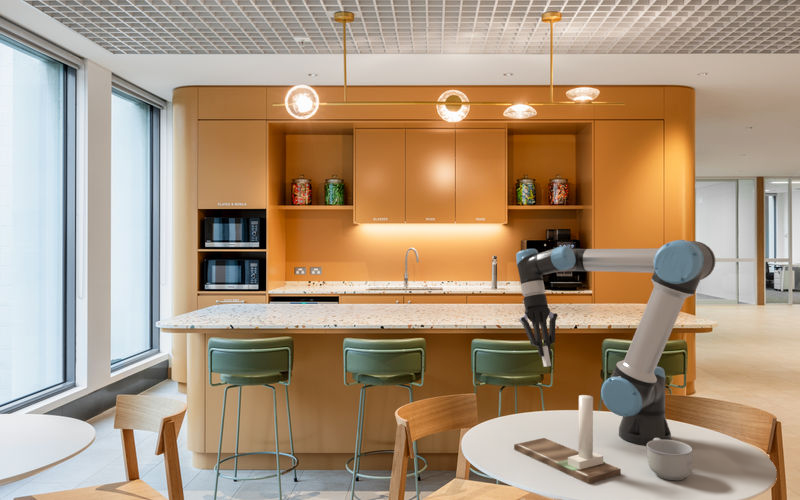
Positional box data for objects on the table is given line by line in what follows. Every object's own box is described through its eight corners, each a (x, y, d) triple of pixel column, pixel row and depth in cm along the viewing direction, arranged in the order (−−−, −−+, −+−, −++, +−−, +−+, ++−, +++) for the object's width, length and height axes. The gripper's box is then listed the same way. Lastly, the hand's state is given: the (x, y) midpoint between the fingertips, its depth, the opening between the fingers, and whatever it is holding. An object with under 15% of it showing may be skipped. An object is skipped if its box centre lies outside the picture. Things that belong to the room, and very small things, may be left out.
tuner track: (514, 449, 165) (514, 443, 165) (544, 442, 171) (544, 437, 171) (588, 483, 141) (588, 477, 141) (620, 474, 147) (620, 468, 147)
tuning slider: (567, 464, 149) (568, 397, 149) (591, 458, 153) (591, 393, 153) (579, 469, 145) (579, 400, 145) (603, 463, 150) (603, 396, 150)
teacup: (698, 486, 140) (698, 454, 140) (651, 482, 142) (651, 451, 142) (681, 465, 154) (681, 436, 154) (639, 462, 156) (639, 433, 156)
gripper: (548, 294, 192) (561, 364, 187) (512, 299, 190) (524, 369, 185) (556, 291, 185) (570, 363, 179) (519, 295, 183) (532, 368, 178)
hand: (547, 366), depth 182 cm, fingers closed
